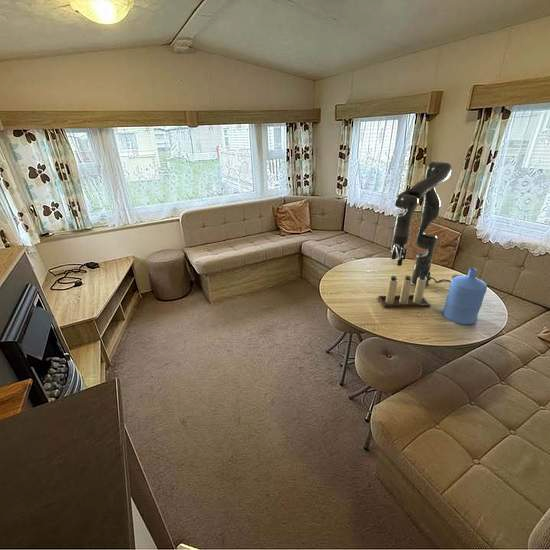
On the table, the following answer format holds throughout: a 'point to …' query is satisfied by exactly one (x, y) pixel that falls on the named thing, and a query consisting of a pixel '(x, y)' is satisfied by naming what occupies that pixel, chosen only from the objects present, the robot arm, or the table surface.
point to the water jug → (465, 298)
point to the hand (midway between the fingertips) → (396, 262)
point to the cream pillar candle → (391, 290)
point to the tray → (398, 304)
